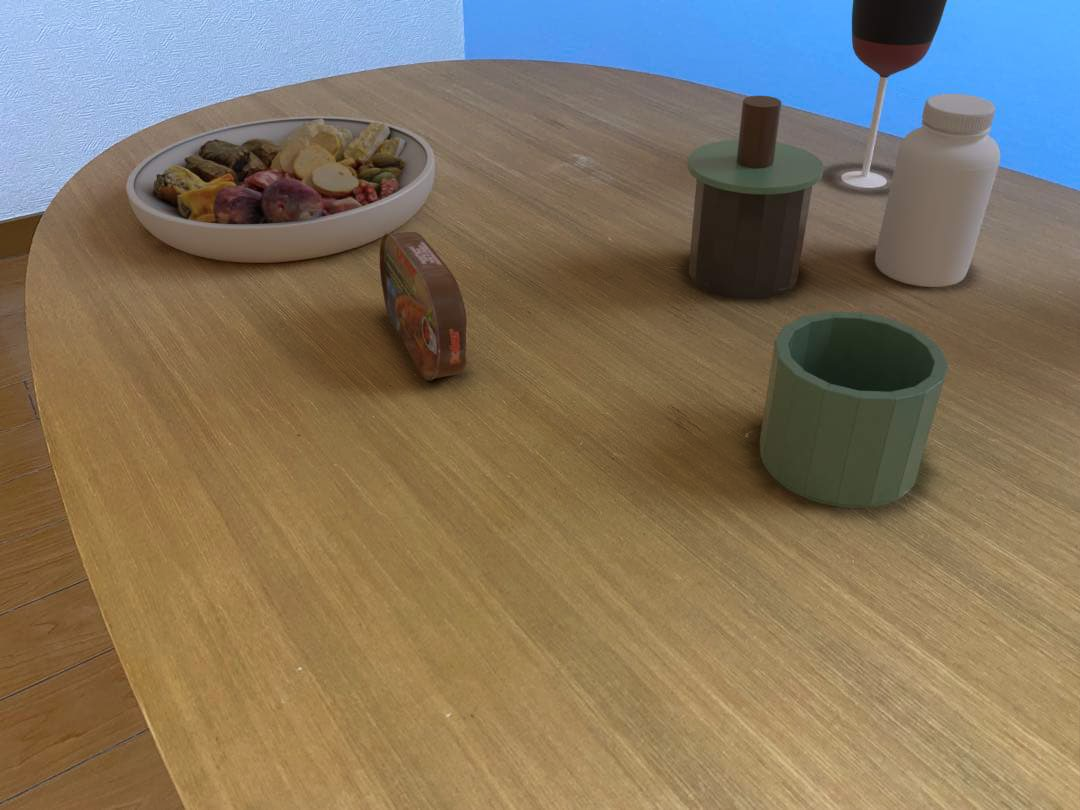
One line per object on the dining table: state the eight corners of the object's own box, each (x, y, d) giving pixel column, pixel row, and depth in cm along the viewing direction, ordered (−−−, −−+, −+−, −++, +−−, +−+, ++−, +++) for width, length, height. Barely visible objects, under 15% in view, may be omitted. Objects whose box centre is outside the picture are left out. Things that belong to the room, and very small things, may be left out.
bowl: (142, 178, 105) (123, 107, 100) (406, 145, 112) (399, 78, 108) (135, 300, 81) (110, 216, 77) (469, 249, 89) (464, 169, 84)
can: (781, 403, 68) (799, 299, 63) (927, 440, 64) (957, 332, 59) (740, 483, 60) (756, 372, 55) (901, 530, 56) (933, 416, 52)
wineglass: (893, 202, 97) (938, -6, 85) (811, 185, 100) (844, -15, 89) (914, 177, 102) (959, -21, 90) (836, 162, 106) (869, -30, 94)
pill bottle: (902, 295, 80) (943, 122, 72) (857, 255, 87) (890, 91, 78) (985, 285, 82) (1036, 114, 73) (935, 246, 88) (976, 84, 79)
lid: (711, 145, 84) (717, 74, 81) (834, 164, 80) (847, 90, 77) (667, 187, 76) (672, 111, 73) (802, 211, 72) (814, 132, 69)
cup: (744, 244, 89) (757, 141, 83) (818, 283, 82) (838, 174, 77) (667, 270, 85) (675, 163, 79) (739, 313, 78) (753, 200, 73)
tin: (381, 310, 80) (369, 217, 75) (417, 302, 81) (408, 210, 76) (436, 402, 68) (427, 300, 63) (477, 392, 69) (471, 291, 64)
